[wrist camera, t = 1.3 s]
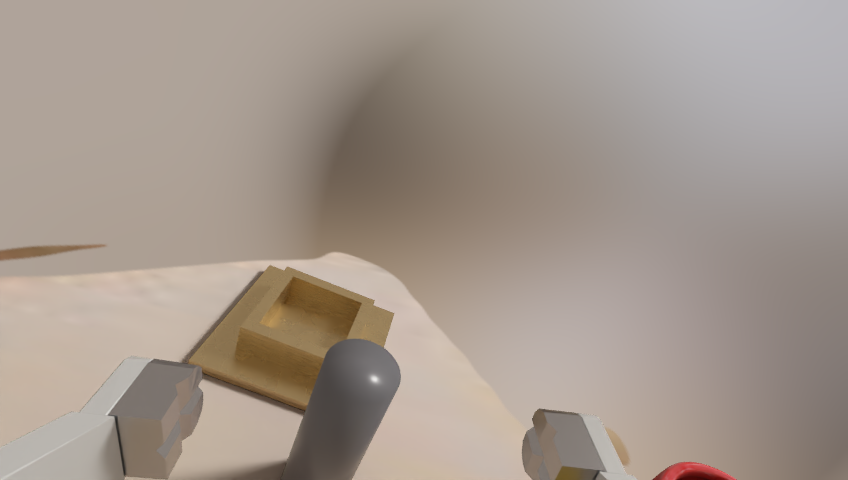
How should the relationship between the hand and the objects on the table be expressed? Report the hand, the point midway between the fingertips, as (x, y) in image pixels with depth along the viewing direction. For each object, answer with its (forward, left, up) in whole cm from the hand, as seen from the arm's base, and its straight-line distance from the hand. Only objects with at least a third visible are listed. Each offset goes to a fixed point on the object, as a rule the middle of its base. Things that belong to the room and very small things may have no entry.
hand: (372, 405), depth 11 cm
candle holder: (-6, +26, -26) cm, 38 cm away
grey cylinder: (0, +12, -26) cm, 29 cm away
